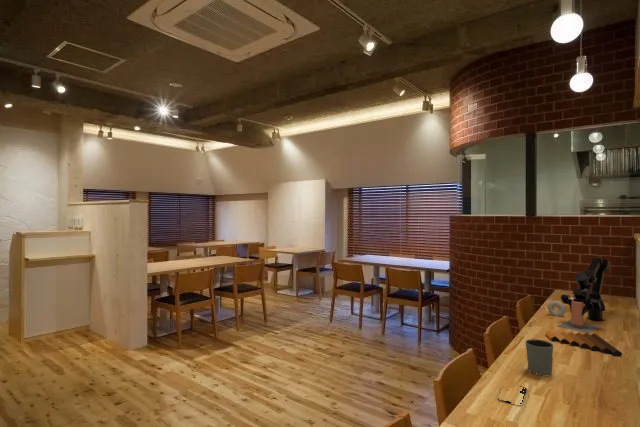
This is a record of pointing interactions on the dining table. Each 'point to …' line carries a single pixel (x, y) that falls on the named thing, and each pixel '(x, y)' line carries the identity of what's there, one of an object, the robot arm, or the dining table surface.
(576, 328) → the mat
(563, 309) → the donut
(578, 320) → the tall box
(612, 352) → the pan flute
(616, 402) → the dining table surface
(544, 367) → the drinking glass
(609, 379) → the dining table surface
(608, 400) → the dining table surface
